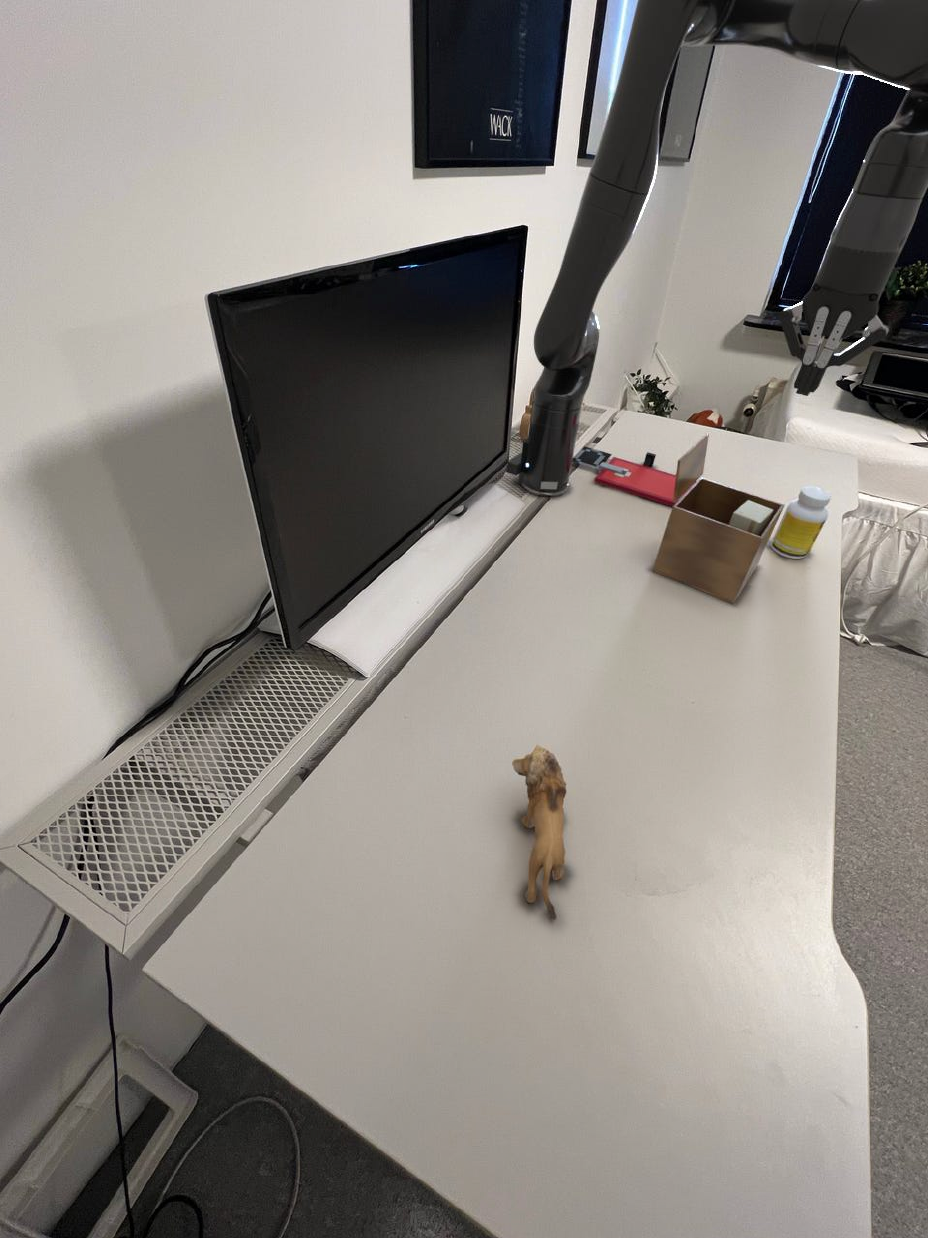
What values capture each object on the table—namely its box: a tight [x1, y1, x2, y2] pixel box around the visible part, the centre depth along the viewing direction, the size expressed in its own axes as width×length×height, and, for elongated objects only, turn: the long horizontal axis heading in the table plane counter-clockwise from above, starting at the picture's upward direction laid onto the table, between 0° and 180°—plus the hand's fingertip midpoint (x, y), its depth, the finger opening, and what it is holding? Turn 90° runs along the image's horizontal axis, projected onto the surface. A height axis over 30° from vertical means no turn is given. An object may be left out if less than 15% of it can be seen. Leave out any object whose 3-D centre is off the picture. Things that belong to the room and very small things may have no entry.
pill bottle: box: [770, 485, 832, 560], centre depth 104 cm, size 6×6×12 cm
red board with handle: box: [572, 445, 698, 507], centre depth 124 cm, size 30×3×15 cm
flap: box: [673, 433, 710, 503], centre depth 94 cm, size 7×13×1 cm
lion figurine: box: [511, 744, 567, 921], centre depth 59 cm, size 15×5×9 cm, turn 6°
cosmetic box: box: [729, 500, 773, 537], centre depth 96 cm, size 6×4×12 cm
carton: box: [652, 477, 786, 605], centre depth 98 cm, size 14×13×12 cm
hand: (802, 393), depth 80 cm, fingers closed
